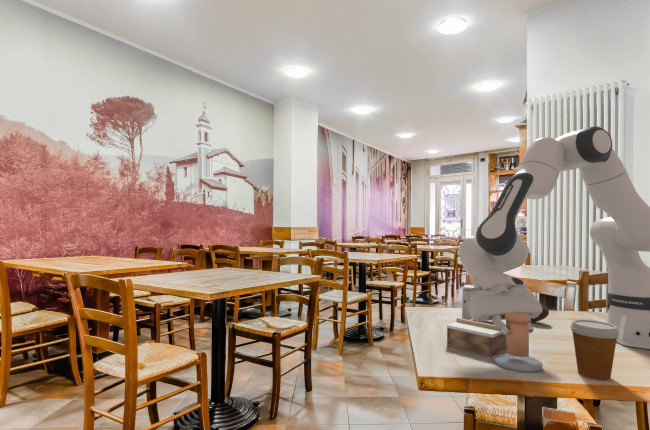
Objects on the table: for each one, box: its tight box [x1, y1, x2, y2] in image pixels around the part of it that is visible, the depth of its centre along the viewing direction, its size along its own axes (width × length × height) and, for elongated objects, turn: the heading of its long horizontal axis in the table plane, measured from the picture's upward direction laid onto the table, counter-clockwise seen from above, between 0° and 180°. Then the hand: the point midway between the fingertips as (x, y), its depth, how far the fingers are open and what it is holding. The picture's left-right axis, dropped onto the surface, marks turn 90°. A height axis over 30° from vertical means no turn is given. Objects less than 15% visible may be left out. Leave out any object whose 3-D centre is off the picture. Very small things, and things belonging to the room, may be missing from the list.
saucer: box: [493, 352, 543, 374], centre depth 96 cm, size 11×11×1 cm
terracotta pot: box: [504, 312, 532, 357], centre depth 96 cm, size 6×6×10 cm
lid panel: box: [446, 317, 502, 338], centre depth 108 cm, size 13×7×2 cm, turn 45°
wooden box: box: [446, 318, 506, 358], centre depth 112 cm, size 13×18×5 cm
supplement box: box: [461, 284, 474, 320], centre depth 141 cm, size 7×7×13 cm
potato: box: [531, 303, 550, 323], centre depth 140 cm, size 7×10×8 cm
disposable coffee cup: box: [569, 319, 619, 381], centre depth 90 cm, size 10×10×12 cm
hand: (519, 332), depth 96 cm, fingers closed on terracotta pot, 5 cm apart
